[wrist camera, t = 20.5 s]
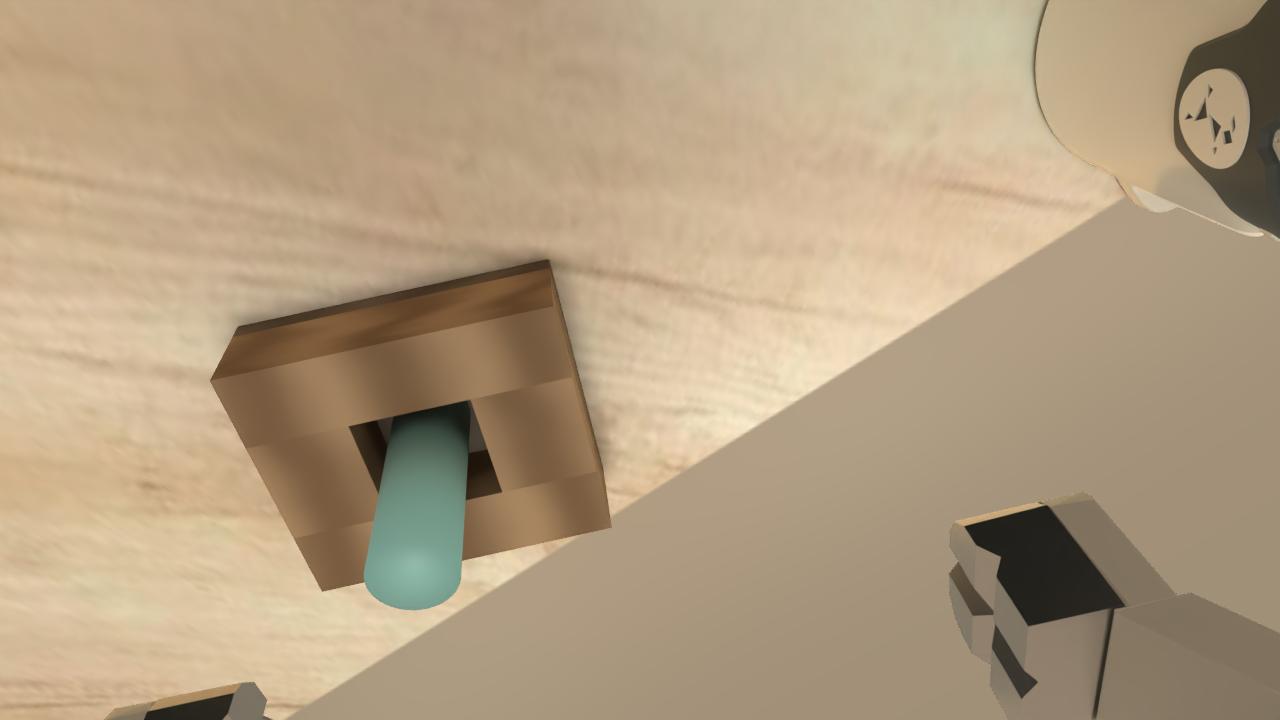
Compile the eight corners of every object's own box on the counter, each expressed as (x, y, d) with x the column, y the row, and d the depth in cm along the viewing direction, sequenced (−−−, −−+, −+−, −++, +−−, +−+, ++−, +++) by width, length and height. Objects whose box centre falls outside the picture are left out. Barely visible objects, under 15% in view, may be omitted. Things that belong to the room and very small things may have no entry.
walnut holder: (549, 259, 45) (553, 306, 41) (603, 469, 52) (611, 527, 48) (237, 327, 45) (210, 380, 41) (337, 528, 52) (322, 591, 48)
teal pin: (458, 375, 47) (445, 532, 37) (479, 434, 49) (472, 598, 39) (384, 391, 47) (349, 553, 37) (408, 450, 49) (381, 618, 39)
